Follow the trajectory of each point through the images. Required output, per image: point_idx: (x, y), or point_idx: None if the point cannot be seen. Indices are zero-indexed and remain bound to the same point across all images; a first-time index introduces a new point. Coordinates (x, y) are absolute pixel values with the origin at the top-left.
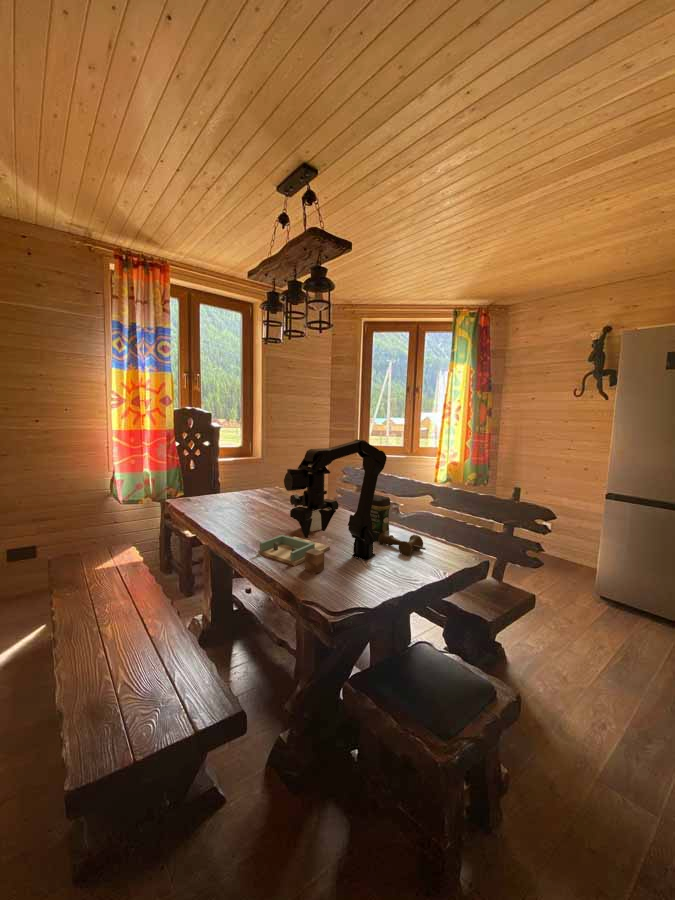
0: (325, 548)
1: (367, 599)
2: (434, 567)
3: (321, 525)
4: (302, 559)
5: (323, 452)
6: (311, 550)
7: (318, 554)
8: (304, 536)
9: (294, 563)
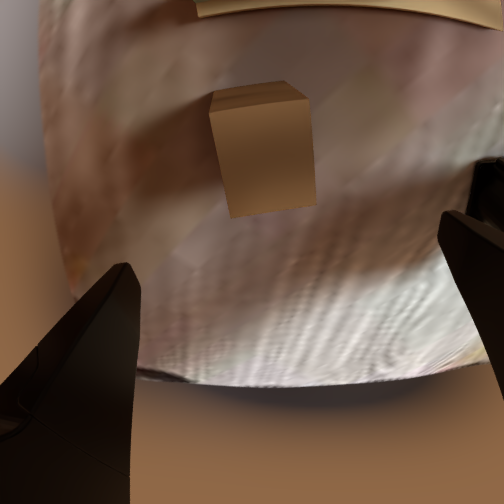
0: (476, 23)
1: (224, 370)
2: (469, 342)
3: (477, 238)
4: (275, 6)
5: None
6: (269, 123)
7: (251, 213)
8: (111, 274)
9: (198, 14)
